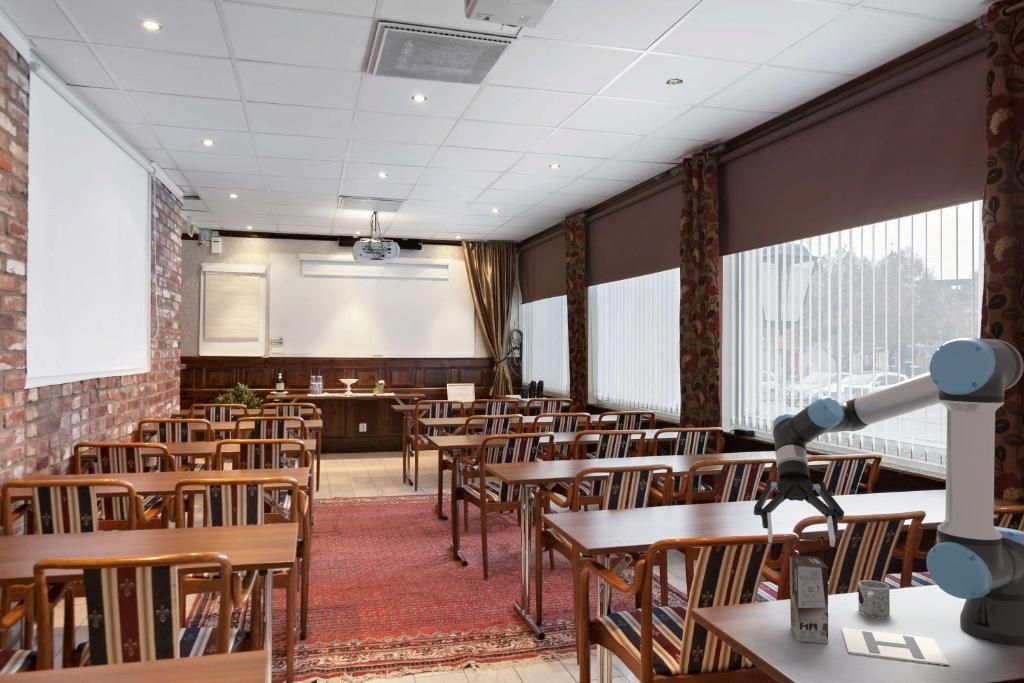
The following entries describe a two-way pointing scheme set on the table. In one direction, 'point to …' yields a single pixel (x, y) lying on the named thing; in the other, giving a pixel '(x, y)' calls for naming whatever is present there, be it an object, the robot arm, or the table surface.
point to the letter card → (893, 646)
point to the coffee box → (809, 599)
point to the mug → (873, 598)
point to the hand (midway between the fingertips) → (801, 541)
